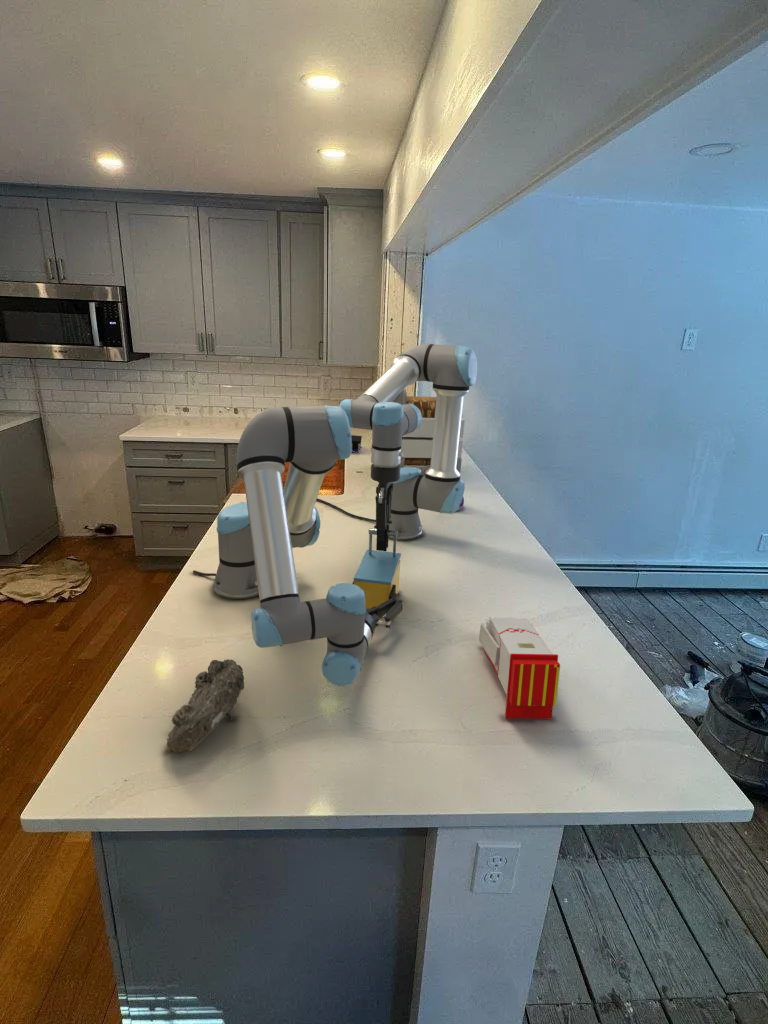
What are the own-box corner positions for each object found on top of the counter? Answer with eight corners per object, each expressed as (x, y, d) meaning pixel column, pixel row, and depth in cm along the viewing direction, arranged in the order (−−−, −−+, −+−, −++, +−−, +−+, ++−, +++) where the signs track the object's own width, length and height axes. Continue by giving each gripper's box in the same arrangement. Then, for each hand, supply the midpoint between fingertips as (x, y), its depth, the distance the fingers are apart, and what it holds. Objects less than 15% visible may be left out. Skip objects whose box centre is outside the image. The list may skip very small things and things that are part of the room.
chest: (365, 588, 160) (366, 556, 157) (398, 592, 159) (400, 560, 155) (352, 615, 146) (353, 580, 142) (389, 620, 144) (391, 585, 141)
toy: (525, 603, 136) (569, 660, 107) (520, 654, 139) (562, 725, 109) (475, 601, 135) (505, 659, 106) (471, 653, 138) (499, 724, 109)
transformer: (382, 463, 289) (386, 382, 275) (445, 464, 293) (451, 384, 279) (390, 482, 257) (394, 392, 243) (460, 483, 261) (468, 394, 247)
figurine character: (361, 456, 305) (361, 447, 319) (361, 443, 302) (362, 434, 315) (348, 456, 305) (350, 446, 318) (349, 442, 302) (350, 433, 315)
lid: (366, 552, 157) (367, 524, 154) (400, 555, 156) (402, 527, 152) (353, 580, 142) (354, 550, 139) (391, 585, 141) (392, 554, 138)
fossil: (192, 660, 117) (244, 628, 112) (224, 691, 120) (276, 661, 115) (142, 746, 98) (202, 712, 93) (182, 779, 101) (242, 748, 96)
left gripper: (307, 640, 128) (332, 594, 149) (404, 653, 125) (416, 605, 146) (307, 611, 126) (333, 569, 147) (406, 624, 123) (418, 579, 143)
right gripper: (395, 473, 137) (391, 561, 145) (404, 458, 151) (399, 539, 159) (365, 470, 138) (362, 558, 147) (376, 455, 152) (373, 536, 160)
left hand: (374, 587), depth 146 cm, fingers closed on chest, 9 cm apart
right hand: (382, 548), depth 153 cm, fingers closed on lid, 2 cm apart
